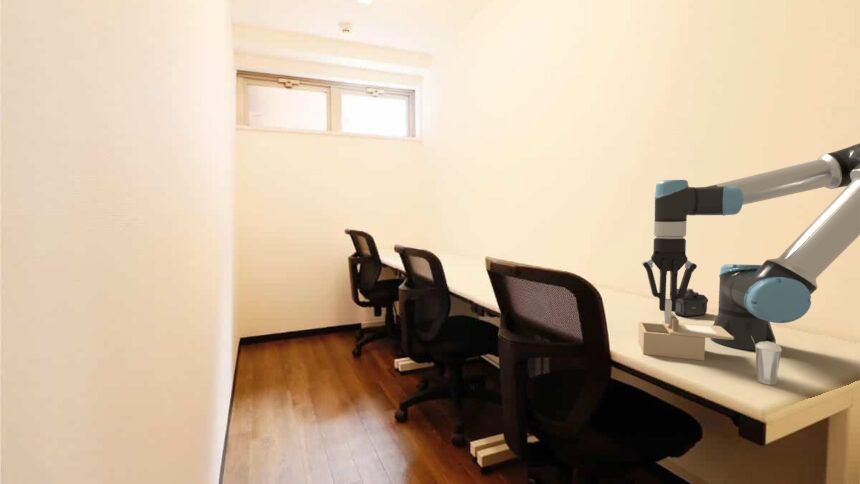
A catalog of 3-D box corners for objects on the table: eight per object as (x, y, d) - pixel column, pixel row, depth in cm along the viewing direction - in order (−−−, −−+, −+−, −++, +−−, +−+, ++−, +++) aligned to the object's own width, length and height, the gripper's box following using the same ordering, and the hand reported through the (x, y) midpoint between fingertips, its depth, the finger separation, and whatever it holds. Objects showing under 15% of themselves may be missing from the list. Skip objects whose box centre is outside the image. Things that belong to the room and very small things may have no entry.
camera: (679, 309, 158) (680, 284, 158) (709, 314, 151) (710, 287, 150) (665, 314, 150) (666, 288, 149) (696, 320, 142) (697, 292, 142)
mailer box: (693, 347, 114) (694, 326, 113) (704, 360, 103) (705, 337, 103) (638, 341, 119) (638, 321, 118) (643, 354, 109) (643, 332, 108)
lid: (720, 328, 111) (720, 315, 111) (733, 340, 101) (734, 325, 101) (662, 323, 116) (662, 311, 116) (669, 334, 106) (670, 320, 106)
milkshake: (749, 375, 94) (751, 333, 93) (779, 381, 91) (782, 338, 90) (748, 381, 90) (751, 338, 90) (780, 388, 87) (782, 343, 86)
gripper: (694, 236, 110) (691, 321, 112) (641, 236, 115) (638, 317, 117) (701, 238, 103) (698, 328, 105) (644, 237, 108) (642, 324, 110)
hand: (666, 322), depth 111 cm, fingers closed
